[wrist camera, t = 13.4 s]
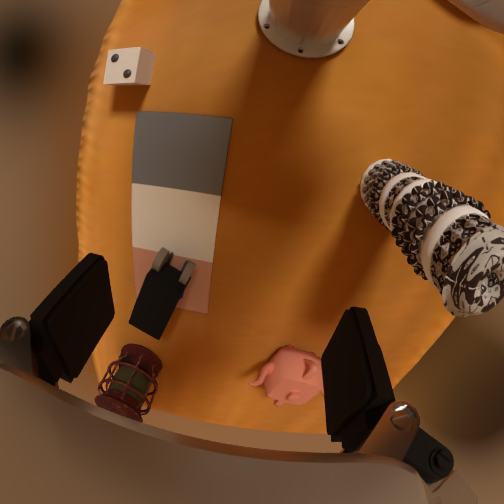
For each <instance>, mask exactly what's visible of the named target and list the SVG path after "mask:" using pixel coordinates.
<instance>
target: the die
mask: <svg viewBox="0 0 504 504" xmlns="http://www.w3.org/2000/svg"><path fill="white" fill-rule="evenodd" d="M155 57H156V53H155V52H152V51H150V50H147V49H145V48H142V47H134V48H124V49H115V50H109V53H108V58H107V63H106V69H105V75H104V82H103V84H106V85H119V86H126V85H151V79H152V73H153V67H154V62H155Z"/></svg>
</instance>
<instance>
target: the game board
mask: <svg viewBox="0 0 504 504" xmlns="http://www.w3.org/2000/svg"><path fill="white" fill-rule="evenodd" d="M232 121H233V119H231V118H223V117H215V116H206V115H196V114H184V113H170V112H148V111H137V115H136V125H135V136H134V150H133V169H132V245H133V264H134V278H135V290H136V298H138V295H139V292H140V290H141V287H142V284H143V282H144V279H145V277H146V274H147V273H148V272H149V271H150V269H151V267H152V264H153V261H154V259H155V257H156V255H157V254H158V252H159V250H160V249H161V248H162V247H163V248H165V249H167V250H169V251H170V252H169V253H171V252H173V254H174V256H173V258H172V260H171V262H170V265H171V266H173V267H175V268H176V269H178V270H180V271H181V269H182V267H183V265H184V263H185V261H187V260H190V261H192V262H194V263H195V264H196V266H195V268H194V270H193V272H192V274H191V279H190V281H189V283H188V285H187V286H186V288H185V290H184V294H183V298H181V299H180V300H179V302H178V304H177V305H176V308H180V309H185V310H189V311H194V312H199V313H203V314H208V304H209V294H210V285H211V275H212V266H213V257H214V248H215V240H216V232H217V224H218V216H219V208H220V201H221V193H222V186H223V179H224V172H225V165H226V159H227V152H228V146H229V139H230V133H231V127H232ZM166 260H167V259H166ZM165 262H166V261H165Z"/></svg>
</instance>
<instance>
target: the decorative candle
mask: <svg viewBox="0 0 504 504" xmlns="http://www.w3.org/2000/svg"><path fill="white" fill-rule="evenodd" d="M360 192H361V197H362V199H363V201H364V203H365V205H366V206H367V207H368V210H370V211H371V214H373V215H375V217H376V219H378V220H379V223H380V224H383V225H385V227H386V229H387V230H389V231H390V230H391V232H392V236H393V237H394V239H395V241H396V245H397V246H399V247H402V253H403V254H404V255H406V256H408V258H407V262H408V264H410V265H412V266H413V267H415V268H414V272H415V273H416V274H417V275H422V278H423V279H424V280H429V281H430V283H431V284H432V285H433V286H434V287H435V288H436V289H437V290H438V291H439V292H440V293H441V295H442V297H443V301H444V306H445V308H446V309H447V310H448V311H449V312H450V313H451V314H452V315H453V316H462V317H466V316H469V315H479V314H481V313H484V312H487V311H489V310H490V309H492V308H493V307H494V306H495V305H497V304H498V303H499V302H500V300H501V299H502V298H503V297H504V227H502V226H500V225H496V224H495V223H493V222H492V221H491V220H490V218H491V216H490V213H489V212H488V210H483V208H484V206H483V203H482V202H480V201H475V200H474V198H473V197H471V196H465V195H464V194H463V193H462V192H461V191H458V190H454V188H453V187H449V186H445V185H444V184H443V183H442V182H436V181H433V180H431V179H427V178H425V177H423V175H422V173H421V172H420V171H416V170H415V169H412V168H410V167H409V166H408V165H405V164H403V163H400V162H397V161H395V160H391V159H382V160H378V161H376V162H374V163H373V164H371V165H369V167H368V168H367V169H366V171H365V172H364V173H363V175H362V179H361V183H360ZM470 205H471V206H472V207H471V206H470ZM418 261H419V262H420V263H419V262H418ZM422 269H424V271H423V270H422Z"/></svg>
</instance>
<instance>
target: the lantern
mask: <svg viewBox="0 0 504 504" xmlns="http://www.w3.org/2000/svg"><path fill="white" fill-rule="evenodd" d="M115 364H116V365H115ZM118 364H119V369H118V370H117V372H116V373H115V375H114V376H113V373H114V371H115V369H116V367H117V366H118ZM113 365H115V367H114V369H113V371H112V373H111V367H112V366H113ZM161 369H162V363H161V361H160V359H159V358H158V357H157V355H155V354H154V353H153V352H152V351H151V350H149V349H147V348H145V347H143V346H140V345H137V344H127V345H125V346H124V347H123V348H122V350H121V356H119V359H118V360H117V361H114V362H112V363H111V364H110V365H109V366H108V369H107V372H106V374H105V376H104V377H103V379H102V381H101V382H100V383H99V387H98V391H99V393H100V389H101V391H102V392H103V394H102V395H100V396H99V395H98V396H97V397H96V398H95V403H96V404H97V406H98V407H100V408H103V409H105V410H108V411H110V412H113V413H116V414H118V415H121V416H124V417H127V418H129V419H132V420H135V421H138V422H141V423H142V422H143V420H142V417H141V415H146V414H147V413H148V412H149V410H150V409H151V404H152V401H153V398H154V395H155V393H156V392H157V387H158V384H157V381H156V377H157V376H158V373H159V372H160V370H161ZM108 372H109V374H110V377H109V378H108V379H105V378H106V376H107V374H108ZM111 377H112V379H111ZM154 379H155V381H154ZM104 382H106V391H104V390H103V387H102V384H103V383H104ZM109 382H111V383H110V385H109V388H108V384H109ZM151 383H153V384H154V388H155V389H154V391H153V392H151V393H148V391H149V388H150V386H151ZM100 394H101V393H100ZM152 394H153V395H152ZM148 395H152V398H151V401H150V403H149V401H148V399H147V398H146V397H147V396H148ZM145 401H146V403H147V405H148V407H147V409H145V410H141V407H142V404H143V403H144V402H145ZM141 412H145V413H144V414H140V413H141Z"/></svg>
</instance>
